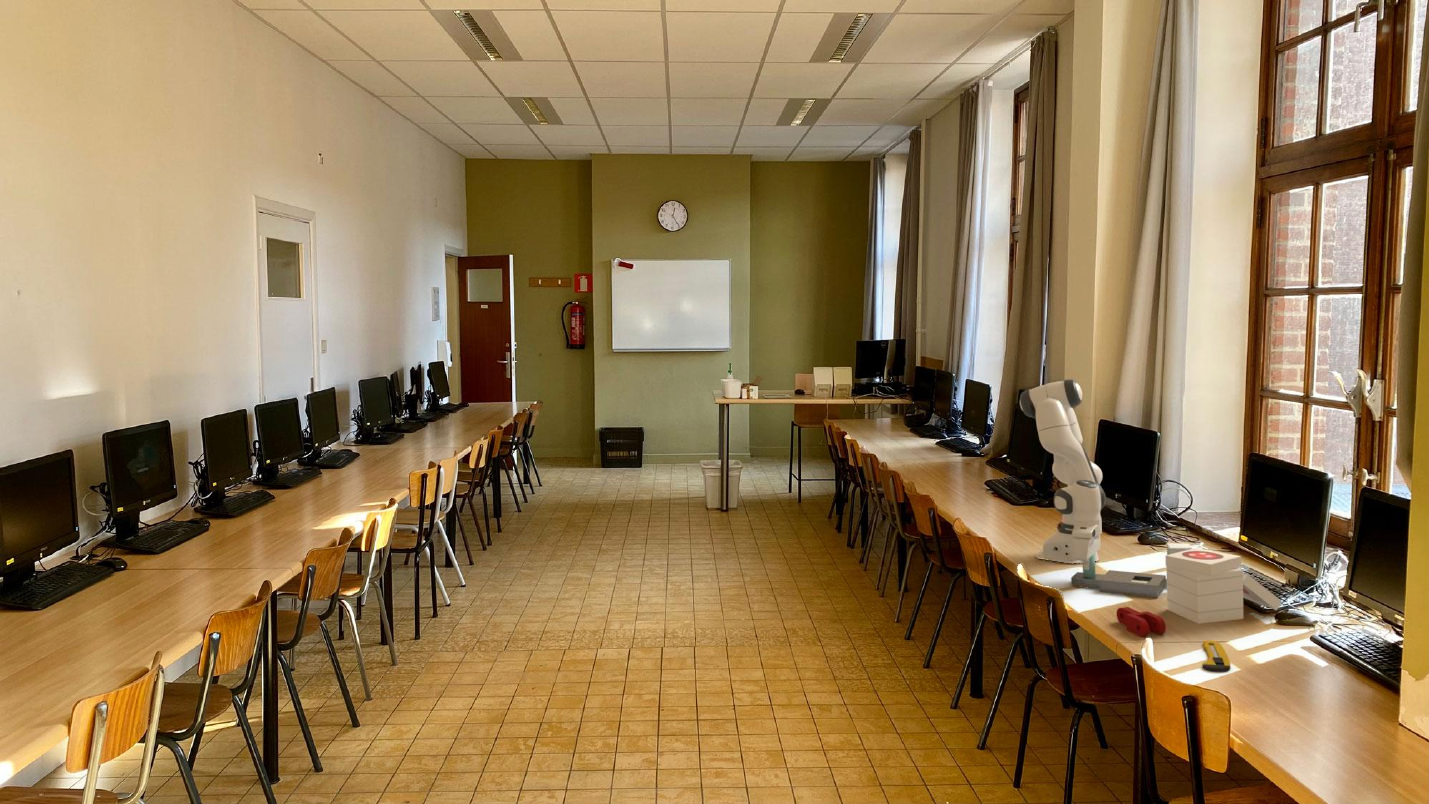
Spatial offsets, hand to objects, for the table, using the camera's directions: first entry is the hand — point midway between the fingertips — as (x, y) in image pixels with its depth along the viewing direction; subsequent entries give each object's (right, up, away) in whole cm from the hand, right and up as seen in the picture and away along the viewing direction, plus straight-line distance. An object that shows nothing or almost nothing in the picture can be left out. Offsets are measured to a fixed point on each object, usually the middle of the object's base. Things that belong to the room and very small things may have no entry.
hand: (1088, 567), depth 327 cm
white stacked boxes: (+26, -8, -36) cm, 45 cm away
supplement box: (+31, -5, -1) cm, 31 cm away
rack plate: (+8, -6, -5) cm, 11 cm away
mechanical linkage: (-4, -10, -47) cm, 48 cm away
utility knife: (+4, -12, -73) cm, 74 cm away
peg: (0, -3, 0) cm, 3 cm away
